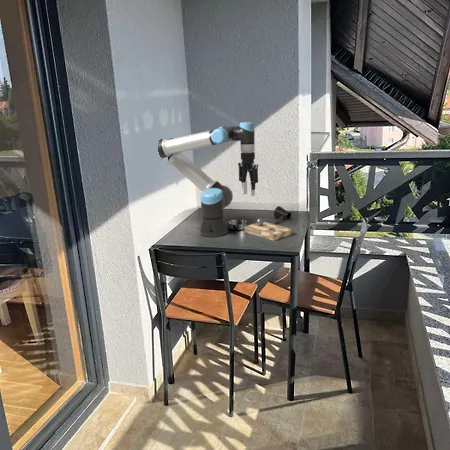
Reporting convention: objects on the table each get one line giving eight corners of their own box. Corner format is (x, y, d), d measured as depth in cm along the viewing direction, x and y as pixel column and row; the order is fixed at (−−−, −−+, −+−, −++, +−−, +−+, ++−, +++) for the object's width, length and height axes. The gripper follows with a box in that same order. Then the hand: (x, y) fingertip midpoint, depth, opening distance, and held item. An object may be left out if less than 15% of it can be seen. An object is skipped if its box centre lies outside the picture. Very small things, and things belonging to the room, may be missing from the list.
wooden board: (273, 240, 221) (273, 235, 220) (244, 231, 237) (244, 226, 236) (292, 234, 229) (292, 229, 229) (262, 226, 246) (262, 221, 245)
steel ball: (259, 227, 234) (259, 219, 233) (254, 225, 237) (254, 218, 236) (265, 225, 237) (265, 218, 236) (260, 224, 240) (259, 217, 239)
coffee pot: (280, 215, 266) (292, 219, 261) (262, 226, 254) (274, 230, 249) (280, 204, 262) (292, 208, 258) (263, 214, 250) (275, 218, 245)
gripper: (264, 152, 228) (265, 196, 234) (241, 150, 242) (242, 191, 248) (254, 154, 223) (255, 198, 230) (231, 151, 237) (232, 193, 243)
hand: (248, 194), depth 239 cm, fingers open, 5 cm apart
